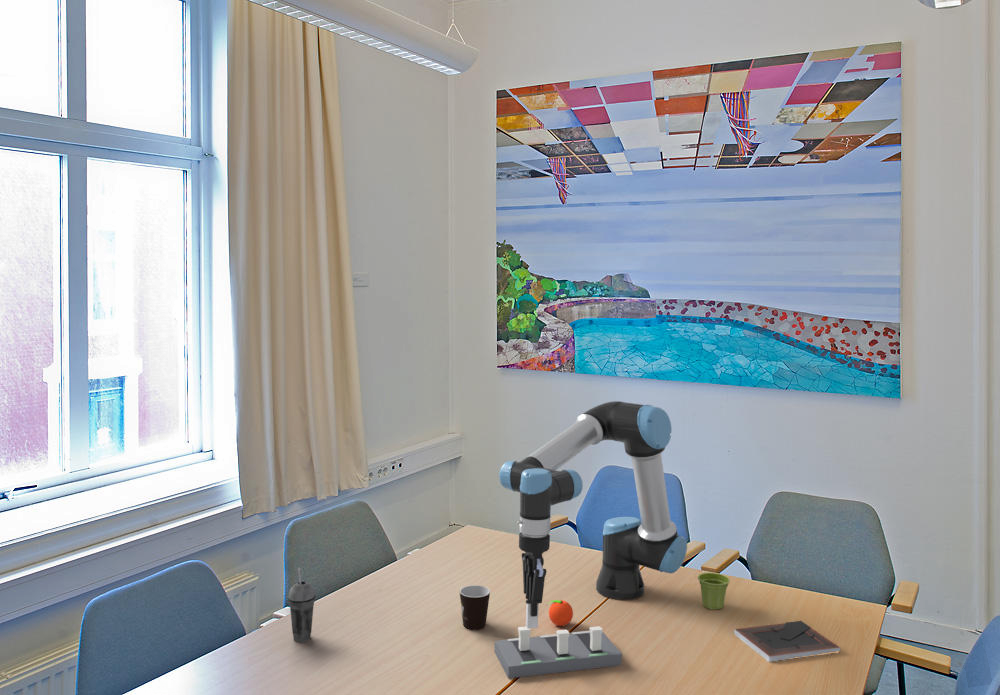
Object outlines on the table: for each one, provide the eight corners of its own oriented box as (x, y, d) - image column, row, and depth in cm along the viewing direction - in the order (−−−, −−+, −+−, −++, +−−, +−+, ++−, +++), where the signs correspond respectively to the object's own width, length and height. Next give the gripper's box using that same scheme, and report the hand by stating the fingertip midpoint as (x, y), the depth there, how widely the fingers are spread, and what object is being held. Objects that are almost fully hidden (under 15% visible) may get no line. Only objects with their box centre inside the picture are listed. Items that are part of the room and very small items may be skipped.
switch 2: (599, 646, 201) (599, 626, 200) (602, 650, 199) (602, 629, 198) (589, 647, 200) (589, 627, 200) (591, 651, 198) (592, 630, 198)
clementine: (541, 627, 220) (542, 602, 219) (548, 617, 226) (549, 593, 226) (569, 631, 217) (569, 607, 216) (575, 621, 223) (576, 597, 223)
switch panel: (600, 640, 212) (601, 629, 212) (621, 665, 198) (621, 653, 198) (494, 651, 204) (494, 640, 204) (508, 678, 191) (508, 665, 191)
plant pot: (694, 609, 233) (695, 581, 233) (699, 597, 242) (700, 570, 241) (726, 614, 230) (728, 586, 229) (730, 602, 239) (731, 575, 238)
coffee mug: (485, 633, 215) (486, 598, 214) (455, 630, 217) (456, 595, 216) (494, 616, 226) (495, 582, 225) (465, 613, 228) (466, 580, 227)
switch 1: (528, 646, 200) (528, 626, 200) (530, 650, 198) (530, 629, 198) (517, 647, 199) (518, 627, 199) (519, 651, 198) (520, 630, 197)
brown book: (800, 628, 223) (734, 636, 217) (801, 620, 223) (734, 628, 217) (839, 655, 207) (769, 664, 201) (840, 646, 207) (769, 655, 201)
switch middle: (566, 650, 199) (566, 629, 198) (568, 653, 197) (569, 632, 196) (555, 651, 198) (556, 630, 197) (558, 655, 196) (558, 634, 196)
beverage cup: (321, 634, 213) (320, 563, 211) (306, 646, 206) (305, 573, 204) (298, 630, 215) (297, 560, 213) (282, 641, 208) (282, 569, 206)
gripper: (512, 525, 195) (510, 617, 196) (527, 542, 182) (524, 640, 184) (541, 524, 197) (538, 614, 198) (557, 540, 184) (554, 637, 186)
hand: (531, 626), depth 191 cm, fingers closed
